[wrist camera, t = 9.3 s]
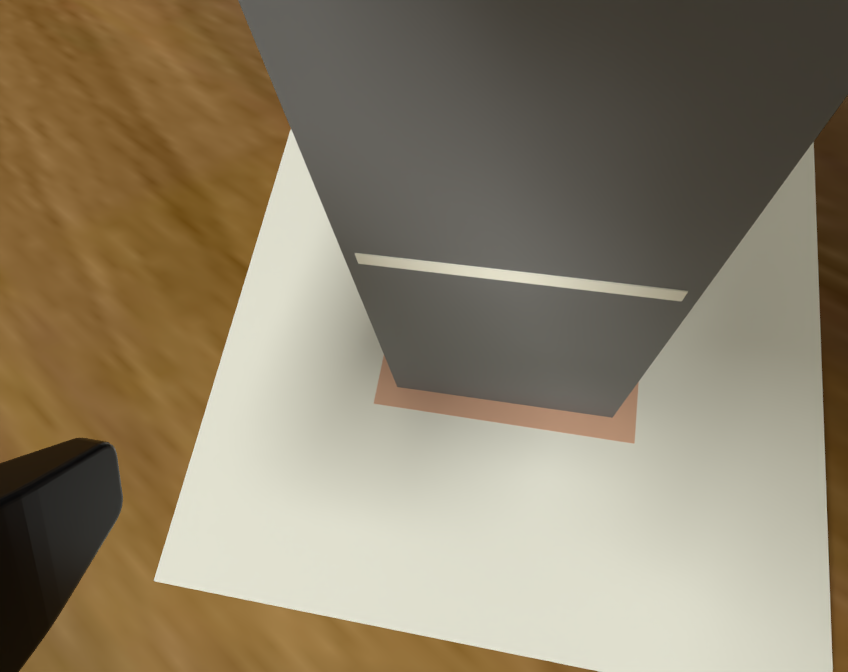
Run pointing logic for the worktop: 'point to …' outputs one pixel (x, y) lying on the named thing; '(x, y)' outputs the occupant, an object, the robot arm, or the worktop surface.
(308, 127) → the domino
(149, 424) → the worktop surface
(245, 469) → the domino board
